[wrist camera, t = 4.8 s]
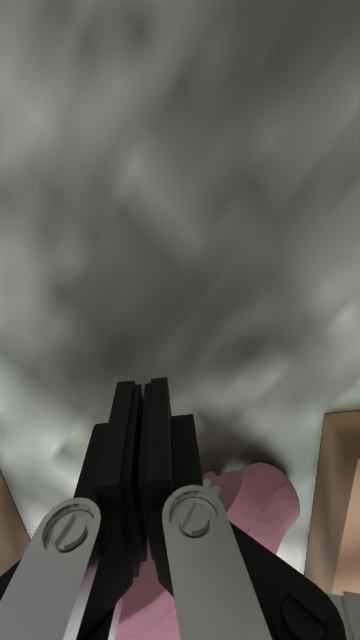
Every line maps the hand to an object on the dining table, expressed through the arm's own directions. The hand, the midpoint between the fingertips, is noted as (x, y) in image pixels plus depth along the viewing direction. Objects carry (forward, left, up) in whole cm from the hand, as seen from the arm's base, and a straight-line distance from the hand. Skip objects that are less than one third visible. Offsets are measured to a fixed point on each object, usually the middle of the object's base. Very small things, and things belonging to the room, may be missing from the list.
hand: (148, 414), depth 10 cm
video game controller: (+7, +1, -3) cm, 8 cm away
